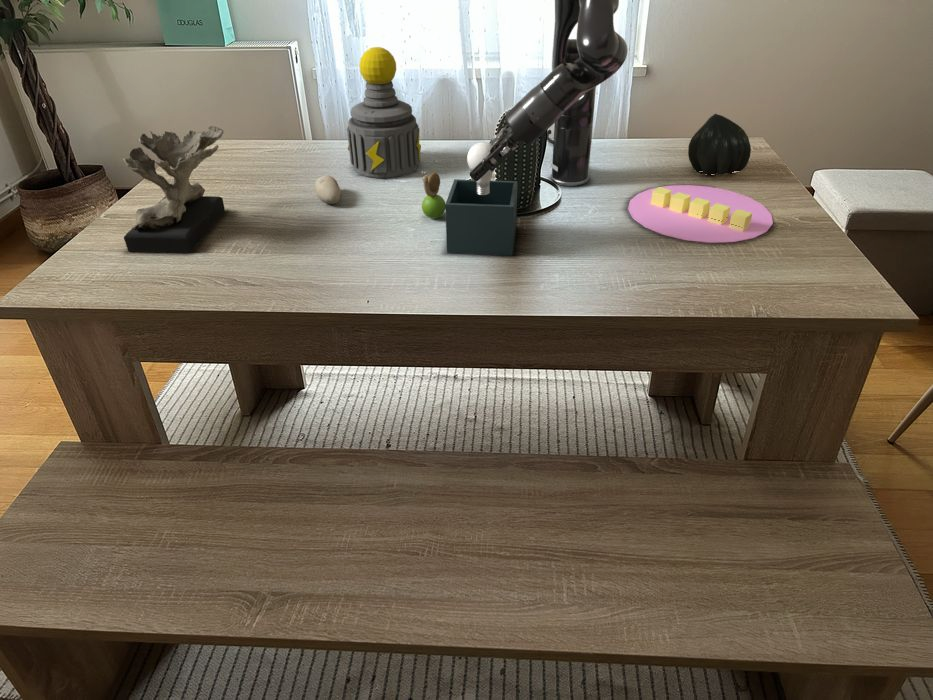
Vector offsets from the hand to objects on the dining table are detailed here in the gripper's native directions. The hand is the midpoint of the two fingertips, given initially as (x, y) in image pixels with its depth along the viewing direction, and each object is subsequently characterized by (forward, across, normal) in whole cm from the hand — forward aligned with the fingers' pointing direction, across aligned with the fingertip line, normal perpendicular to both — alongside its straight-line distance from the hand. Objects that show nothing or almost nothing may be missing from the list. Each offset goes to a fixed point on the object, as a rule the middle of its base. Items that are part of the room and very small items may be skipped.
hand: (475, 171), depth 142 cm
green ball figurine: (+19, -10, +3) cm, 22 cm away
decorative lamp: (+32, -41, -10) cm, 53 cm away
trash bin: (+10, 0, +12) cm, 15 cm away
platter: (-24, -20, +46) cm, 55 cm away
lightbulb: (+3, 0, +5) cm, 6 cm away
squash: (-29, -46, +51) cm, 74 cm away
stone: (+38, -18, -16) cm, 45 cm away
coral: (+56, +1, -34) cm, 65 cm away
